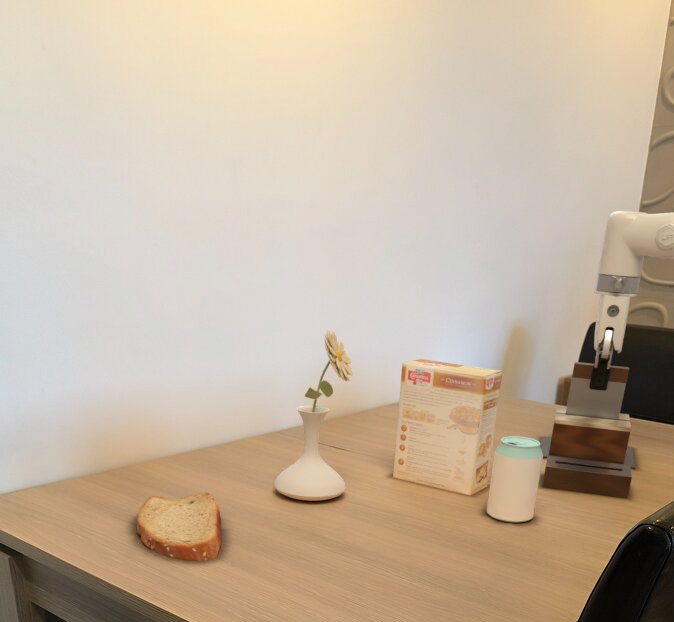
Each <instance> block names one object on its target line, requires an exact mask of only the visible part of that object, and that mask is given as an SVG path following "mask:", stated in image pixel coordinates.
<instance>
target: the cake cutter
mask: <svg viewBox="0 0 674 622" xmlns="http://www.w3.org/2000/svg"><path fill="white" fill-rule="evenodd" d="M593 367H595V364H594V363H590V362H589V363H588V362H583V361H574V363H573V369H572V375H571V380H570V385H569V392H568V398H567V403H566V407H565V408H566V414H565V415H574V416H584V417H593V418H602V419H611V420H618V419H619V415H620V414H621V409H622V406H623V400H624V396H625V395H624V394H625V391H626V386H627V385H626V384H627V382H628V379H629V378H628V377H629V373H630V367H629V366H618V365H610V369H611V370H610V375H609V380H608V385H607V390H606V391H602V390H592V389H590V388H589V386H590V380H591V375H592V370H593ZM606 369H607V368H606Z"/></svg>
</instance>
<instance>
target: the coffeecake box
mask: <svg viewBox="0 0 674 622" xmlns="http://www.w3.org/2000/svg"><path fill="white" fill-rule="evenodd" d="M502 377H503V370H499V369H492V368H484V367H477V366H472V365H465V364H464V365H463V364H457V363H450V362H445V361H444V362H443V361H437V360H431V359H424V358H419V359H415V360H411V361H406V362H403V363H402V366H401V375H400V388H399V397H398V398H399V399H398V400H399V401H398V411H397V412H398V413H397V424H396V433H395V435H396V436H395V445H394V446H395V448H394V458H393V459H394V460H393V470H392V473H393V474H392V478H395V479H398V480H402V481H407V482H411V483H415V484H419V485H424V486H428V487H432V488H435V489H441V490H444V491H449V492H453V493H456V494H457V493H458V494H462V495H466V496H473V495H474V494H477V493H478V492H480V491H481V490H483V489H485V488H487V487H488V482H489V477H490V476H489V474H490V470H491V469H490V468H491V462H492V453H493V446H494V445H493V444H494V439H495V432H496V431H495V430H496V423H497V416H498V408H499V401H500V394H501V385H502Z"/></svg>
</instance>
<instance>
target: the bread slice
mask: <svg viewBox="0 0 674 622" xmlns="http://www.w3.org/2000/svg"><path fill="white" fill-rule="evenodd" d="M136 533H137V534H138V535H139V536H140V540H141V543H143V544H144V545H145V547H147V548H148V549H150V550H151V551H153V552H154V553H157V554H159V555H162V556H165V557H167V558H170V559H175V560H178V561H179V560H180V561H187V562H198V563H200V562H207V561H211V560H214V559H216V558H217V557H218V556H219V551H220V548H221V546H222V517H221V512H220V508H219V506H218V504H217V502H216V500H215V498H214V496H212V494H211V493H210V492H207V491H206V492H202V493H197V494H192V495H188V496H186V497H182V498H169V497H163V496H159V495H152V496H150V497H148V498H147V499H146V500H145V501H144V503H143V504H142V505H141V507H140V508H139V511H138V514H137V516H136Z"/></svg>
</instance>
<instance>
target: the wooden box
mask: <svg viewBox="0 0 674 622" xmlns="http://www.w3.org/2000/svg"><path fill="white" fill-rule="evenodd" d="M566 408H567V407H565V406H564V407H563V406H556V410H555V415H554V420H553V427H552V432H551V436H542V437H541V440H540V448H541V451H542V453H543V459H547V457H548V455H549V456H557V457H565V458H573V459H581V460H590V461H598V462H606V463H614V464H622V465H630V467H631V470H635V469H636V464H635V463H636V462H635V459H634V458H635V457H634V451H633V446H628V445H629V441H630V435H631V431H632V425H631V424H632V423H631V419H630V414H629V413H620V415H619V419H618V420H611V419H602V418H593V417H584V416H574V415H565V414H566Z"/></svg>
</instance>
